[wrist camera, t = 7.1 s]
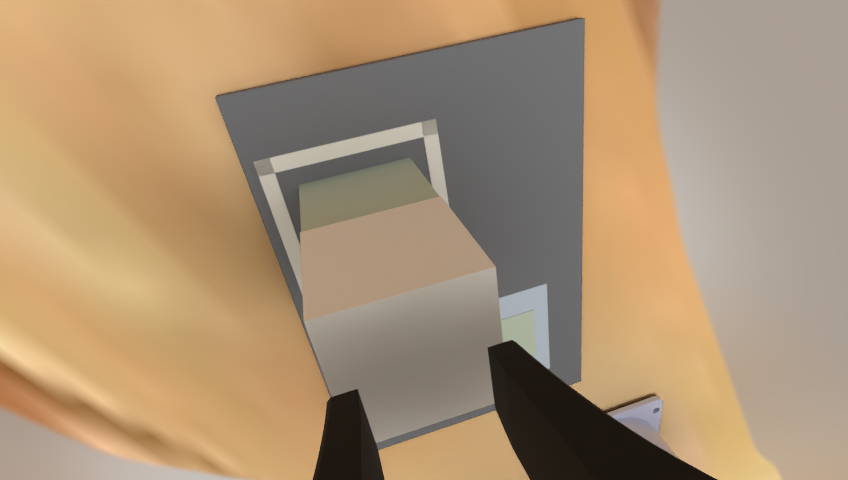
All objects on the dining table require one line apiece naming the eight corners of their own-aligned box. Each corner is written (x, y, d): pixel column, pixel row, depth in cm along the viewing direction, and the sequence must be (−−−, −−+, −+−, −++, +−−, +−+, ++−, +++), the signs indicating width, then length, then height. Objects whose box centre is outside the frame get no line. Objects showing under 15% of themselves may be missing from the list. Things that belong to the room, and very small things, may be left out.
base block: (427, 251, 21) (459, 308, 17) (329, 278, 20) (338, 345, 16) (409, 157, 18) (441, 198, 15) (298, 184, 18) (301, 235, 14)
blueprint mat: (577, 376, 28) (581, 382, 27) (353, 452, 26) (354, 459, 25) (579, 17, 18) (585, 18, 18) (217, 95, 16) (215, 97, 16)
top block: (457, 307, 17) (508, 399, 13) (337, 342, 16) (351, 451, 12) (441, 196, 14) (495, 266, 11) (299, 232, 14) (303, 322, 10)
